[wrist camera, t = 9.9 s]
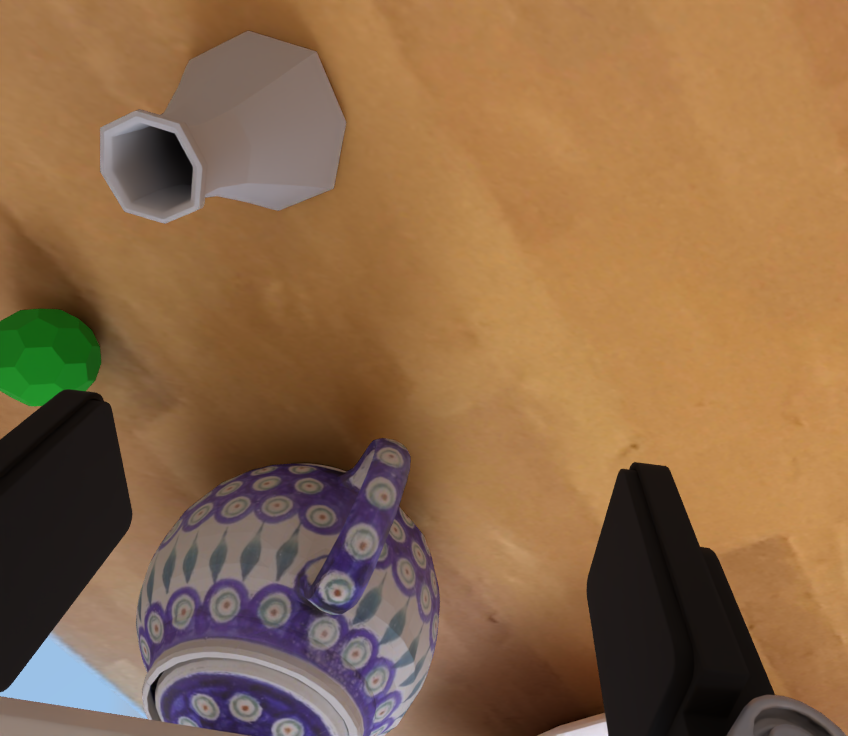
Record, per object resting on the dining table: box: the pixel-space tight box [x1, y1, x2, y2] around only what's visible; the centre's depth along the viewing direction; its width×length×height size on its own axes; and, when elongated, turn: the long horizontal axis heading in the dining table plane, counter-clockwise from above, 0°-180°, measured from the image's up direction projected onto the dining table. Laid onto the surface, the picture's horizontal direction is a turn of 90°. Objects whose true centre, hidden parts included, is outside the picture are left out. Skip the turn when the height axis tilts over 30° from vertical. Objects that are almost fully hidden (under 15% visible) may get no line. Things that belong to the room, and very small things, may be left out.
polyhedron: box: [0, 309, 101, 406], centre depth 31 cm, size 5×5×5 cm
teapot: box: [136, 438, 440, 736], centre depth 31 cm, size 25×15×15 cm, turn 150°
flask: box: [100, 31, 346, 224], centre depth 22 cm, size 7×7×10 cm
